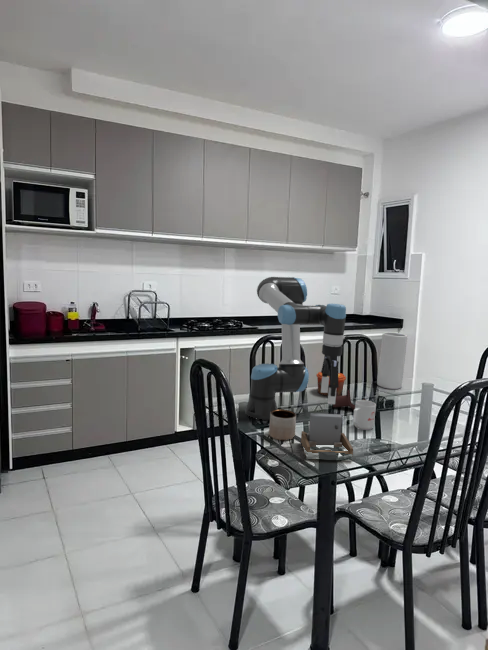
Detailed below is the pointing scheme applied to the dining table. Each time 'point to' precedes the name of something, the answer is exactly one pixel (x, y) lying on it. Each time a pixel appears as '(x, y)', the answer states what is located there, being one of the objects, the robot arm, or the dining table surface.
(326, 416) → the door
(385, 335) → the vase
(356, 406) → the mug
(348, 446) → the carcass
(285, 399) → the dining table surface
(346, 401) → the bracket
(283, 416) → the planter
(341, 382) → the food container
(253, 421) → the dining table surface
